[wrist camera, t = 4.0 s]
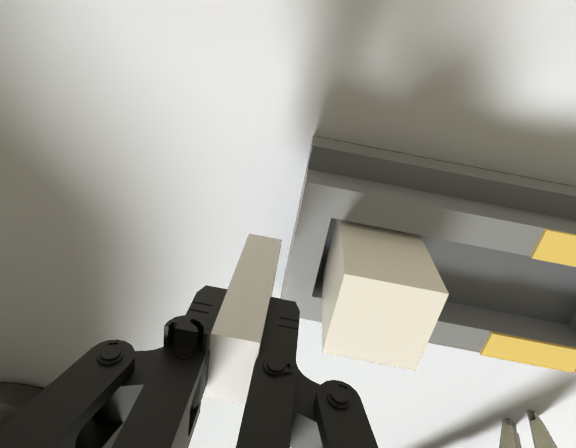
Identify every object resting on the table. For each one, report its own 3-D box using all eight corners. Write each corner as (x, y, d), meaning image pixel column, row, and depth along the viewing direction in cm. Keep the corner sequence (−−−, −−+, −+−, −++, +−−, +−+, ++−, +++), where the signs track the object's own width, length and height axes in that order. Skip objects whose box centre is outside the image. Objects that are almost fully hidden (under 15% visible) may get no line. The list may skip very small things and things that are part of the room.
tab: (322, 274, 22) (322, 352, 16) (338, 210, 20) (344, 273, 15) (392, 288, 22) (415, 370, 16) (415, 225, 20) (449, 293, 15)
